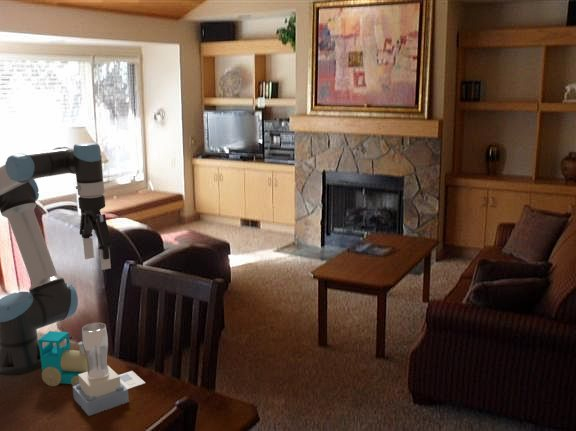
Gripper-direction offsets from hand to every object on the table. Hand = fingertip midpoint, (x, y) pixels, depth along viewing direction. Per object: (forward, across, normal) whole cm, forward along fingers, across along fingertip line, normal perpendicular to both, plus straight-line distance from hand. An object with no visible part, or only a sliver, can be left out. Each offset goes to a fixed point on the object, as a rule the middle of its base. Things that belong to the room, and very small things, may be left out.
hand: (97, 263), depth 189 cm
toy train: (+37, -2, -10) cm, 39 cm away
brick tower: (+37, +15, -8) cm, 40 cm away
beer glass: (+29, +15, -8) cm, 33 cm away
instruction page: (+37, +9, +3) cm, 38 cm away
